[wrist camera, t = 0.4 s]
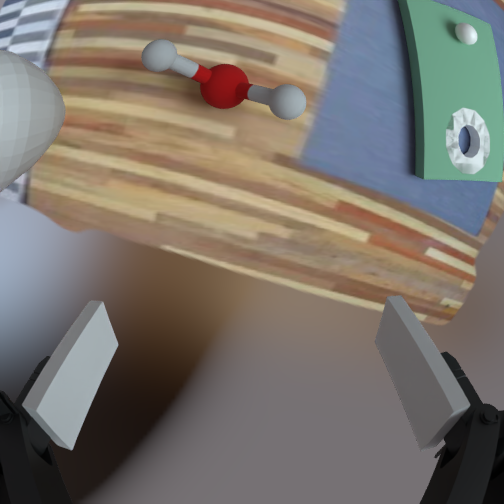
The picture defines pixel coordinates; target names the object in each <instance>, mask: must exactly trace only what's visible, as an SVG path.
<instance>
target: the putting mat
mask: <svg viewBox="0 0 504 504" xmlns="http://www.w3.org/2000/svg"><path fill="white" fill-rule="evenodd" d="M398 3H399V7H400V12H401V16H402V21H403V25H404V31H405V36H406V42H407V48H408V54H409V61H410V69H411V77H412V87H413V98H414V113H415V142H416V162H415V176H417V177H420V178H422V179H441V180H473V181H492V182H502V174H503V157H504V117H503V100H502V88H501V79H500V72H499V65H498V59H497V53H496V48H495V43H494V38H493V34H492V29H491V25H490V24H488V23H486V22H484V21H482V20H480V19H477V18H475V17H473V16H471V15H468V14H466V13H464V12H461V11H459V10H456V9H454V8H451V7H448V6H446V5H443V4H440V3H437V2H434V1H431V0H398ZM459 23H467V24H469V25H471V26H472V27H473V28H474V29H475V31H476V33H477V41H476V42H475V43H474V44H472V45H467V44H464V43H462V42H461V41H460V40H459V39H458V38H457V36H456V33H455V27H456V25H457V24H459ZM464 126H465V127H466V128H467V129H468V131H469V134H470V137H471V145H470V147H469V150H468V152H467V153H465V154H464V155H463V154H462V153H461V150H460V147H459V145H458V135H459V133H460V130H461V128H462V127H464Z"/></svg>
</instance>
